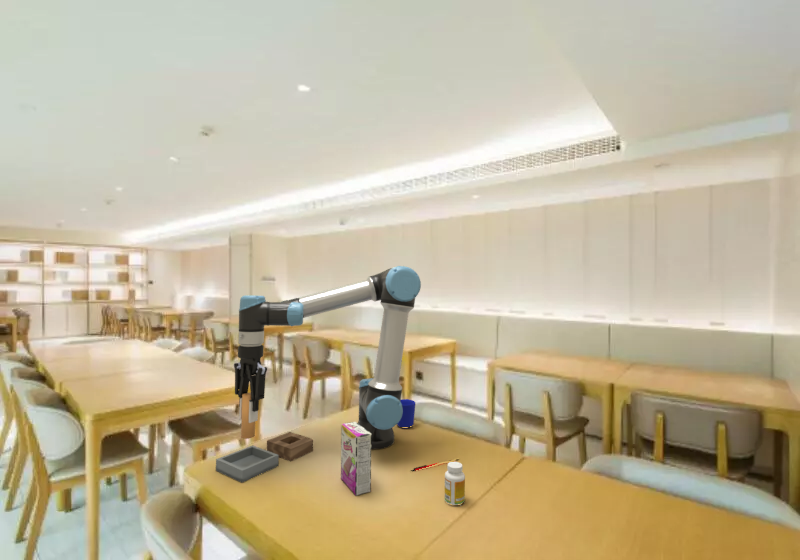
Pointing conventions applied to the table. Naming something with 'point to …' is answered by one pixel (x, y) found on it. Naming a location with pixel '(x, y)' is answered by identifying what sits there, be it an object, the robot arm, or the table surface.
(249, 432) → the pin
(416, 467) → the pen
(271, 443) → the hitch block
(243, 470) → the tray
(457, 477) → the supplement bottle
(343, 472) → the candy bar box
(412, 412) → the mug
